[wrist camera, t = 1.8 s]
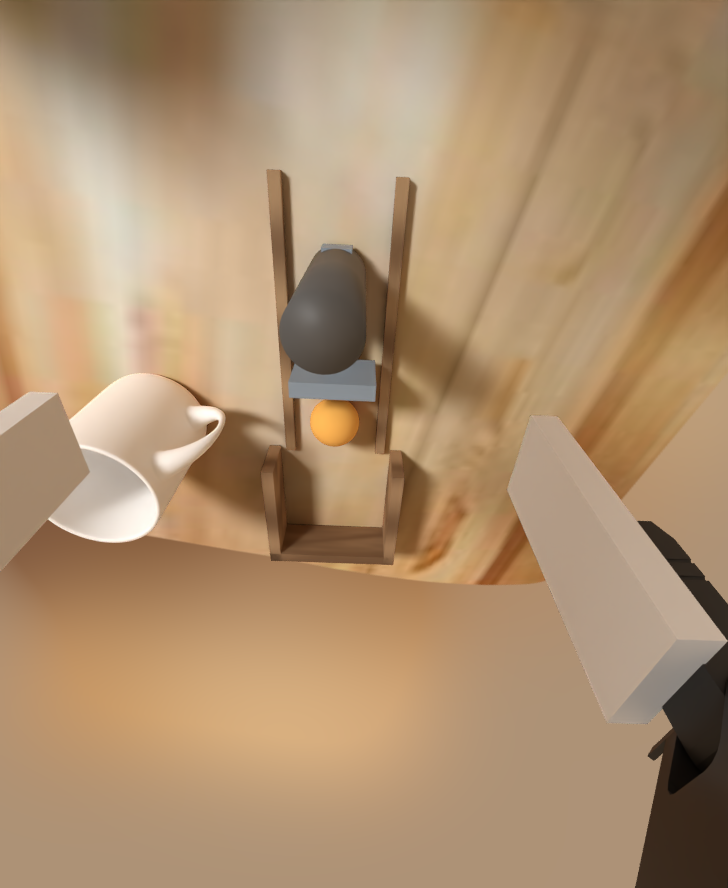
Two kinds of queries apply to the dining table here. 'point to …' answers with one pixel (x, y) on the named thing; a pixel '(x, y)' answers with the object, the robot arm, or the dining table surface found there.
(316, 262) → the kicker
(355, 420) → the ball
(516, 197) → the dining table surface
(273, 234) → the lane
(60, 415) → the robot arm
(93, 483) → the mug
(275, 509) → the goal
